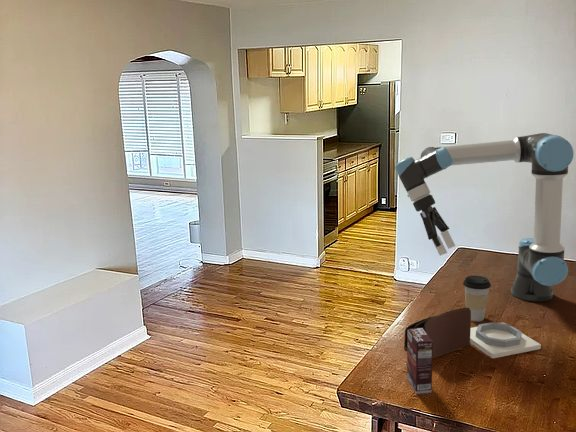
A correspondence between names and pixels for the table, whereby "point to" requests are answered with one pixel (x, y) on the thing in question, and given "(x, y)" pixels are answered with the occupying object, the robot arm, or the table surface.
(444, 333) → the letter holder
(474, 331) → the dock board
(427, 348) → the supplement box
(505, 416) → the table surface
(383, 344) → the table surface
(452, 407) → the table surface
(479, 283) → the coffee cup
